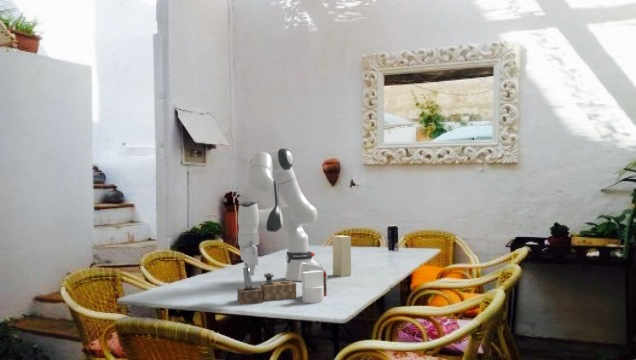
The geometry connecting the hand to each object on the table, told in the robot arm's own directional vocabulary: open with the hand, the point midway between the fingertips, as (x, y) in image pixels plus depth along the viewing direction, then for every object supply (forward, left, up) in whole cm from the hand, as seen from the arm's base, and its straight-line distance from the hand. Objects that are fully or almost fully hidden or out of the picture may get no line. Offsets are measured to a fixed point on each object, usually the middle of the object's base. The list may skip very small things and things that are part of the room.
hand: (249, 273), depth 220 cm
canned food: (-30, 0, -12) cm, 32 cm away
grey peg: (0, 0, -12) cm, 12 cm away
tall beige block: (-59, -45, -12) cm, 75 cm away
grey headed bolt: (-9, -3, -9) cm, 13 cm away
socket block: (-13, -3, -12) cm, 18 cm away
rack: (0, 0, -12) cm, 12 cm away
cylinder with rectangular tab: (-25, +9, -12) cm, 29 cm away
